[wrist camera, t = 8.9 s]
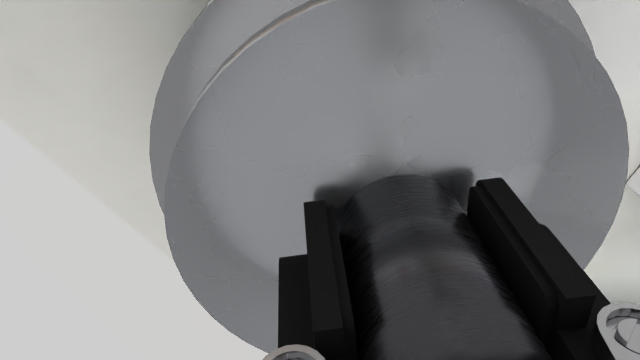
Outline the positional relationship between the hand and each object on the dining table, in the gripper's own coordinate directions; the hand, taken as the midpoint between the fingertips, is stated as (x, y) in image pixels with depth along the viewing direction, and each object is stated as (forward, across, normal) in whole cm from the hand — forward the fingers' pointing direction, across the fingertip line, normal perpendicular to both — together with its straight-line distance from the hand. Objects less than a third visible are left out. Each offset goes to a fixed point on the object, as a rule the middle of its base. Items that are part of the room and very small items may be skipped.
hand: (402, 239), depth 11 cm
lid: (+2, 0, 0) cm, 2 cm away
